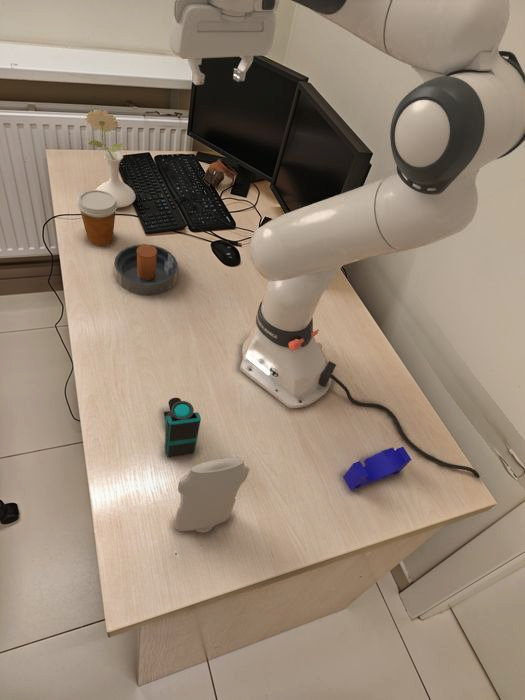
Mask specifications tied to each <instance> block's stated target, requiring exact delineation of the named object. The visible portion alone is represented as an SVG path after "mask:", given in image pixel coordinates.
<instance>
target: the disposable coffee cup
mask: <svg viewBox="0 0 525 700" xmlns="http://www.w3.org/2000/svg"><path fill="white" fill-rule="evenodd" d="M76 206H77V208H78V209H79V211H80V214H81V219H82V222H83V227H84V230H85V234H86V238H87V240H88V242H89V243H90V244H92V245H95V246H106V245H109V244H110V243H112V241H113V239H114V230H115V221H116V211H117V210H118V208H117V206H118V205H117V202H116V200H115V198H114V196H113V195H111V194H110V193H108V192H105V191H101V190H96V189H90V190H86V191H83V192H82V193H80V194H79V196H78V199H77V202H76Z"/></svg>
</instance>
